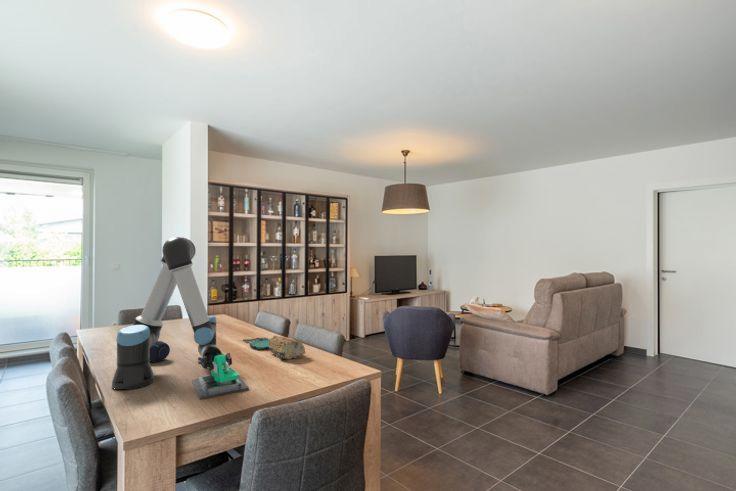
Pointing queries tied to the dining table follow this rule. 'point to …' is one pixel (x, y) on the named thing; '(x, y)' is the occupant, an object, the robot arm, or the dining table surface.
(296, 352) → the petrified wood
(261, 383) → the dining table surface
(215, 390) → the plate
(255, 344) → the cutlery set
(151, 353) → the portable speaker
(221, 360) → the camera mount
